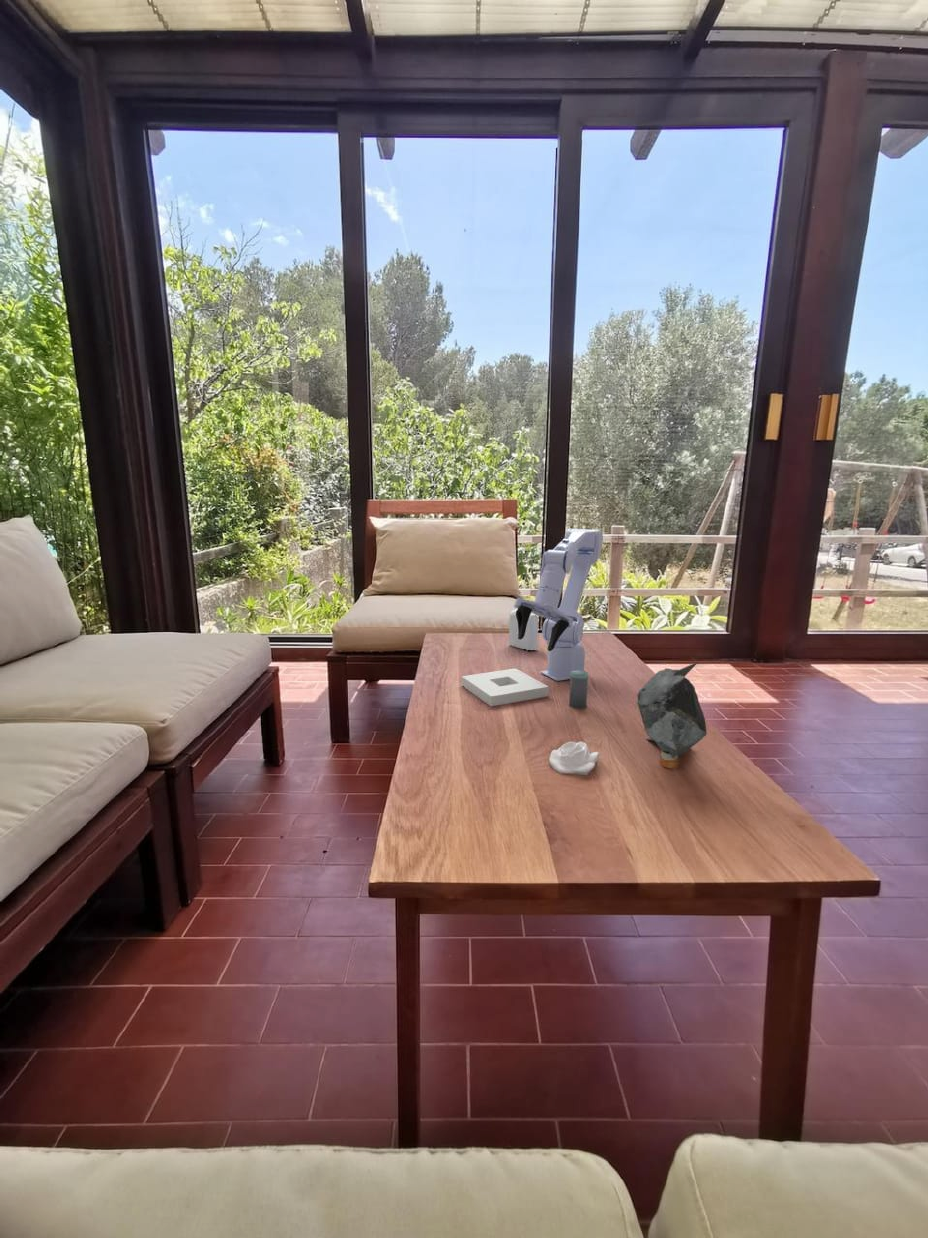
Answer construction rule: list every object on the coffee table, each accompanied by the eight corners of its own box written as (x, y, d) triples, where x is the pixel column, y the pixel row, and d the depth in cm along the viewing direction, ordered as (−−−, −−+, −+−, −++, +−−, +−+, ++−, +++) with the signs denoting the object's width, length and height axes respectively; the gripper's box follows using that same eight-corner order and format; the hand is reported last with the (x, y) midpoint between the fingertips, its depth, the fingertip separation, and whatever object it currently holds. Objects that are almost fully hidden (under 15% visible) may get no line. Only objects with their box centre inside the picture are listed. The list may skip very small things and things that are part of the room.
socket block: (515, 677, 160) (515, 668, 160) (548, 696, 146) (548, 686, 146) (461, 685, 153) (461, 676, 153) (490, 706, 139) (491, 696, 139)
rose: (613, 750, 108) (566, 759, 104) (612, 773, 109) (565, 782, 105) (584, 729, 117) (540, 736, 113) (582, 750, 118) (539, 758, 114)
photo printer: (506, 645, 191) (507, 607, 188) (516, 643, 194) (517, 606, 191) (529, 652, 183) (531, 613, 180) (539, 650, 186) (540, 611, 183)
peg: (579, 701, 143) (581, 669, 141) (590, 706, 139) (591, 674, 138) (565, 703, 141) (567, 671, 139) (575, 709, 138) (577, 676, 136)
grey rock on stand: (613, 759, 113) (619, 669, 109) (652, 735, 124) (659, 652, 120) (685, 785, 104) (695, 688, 99) (721, 757, 114) (731, 668, 110)
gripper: (527, 576, 139) (513, 628, 134) (582, 598, 141) (570, 650, 136) (517, 587, 146) (503, 636, 141) (570, 608, 148) (558, 657, 143)
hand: (535, 644), depth 139 cm, fingers open, 7 cm apart
